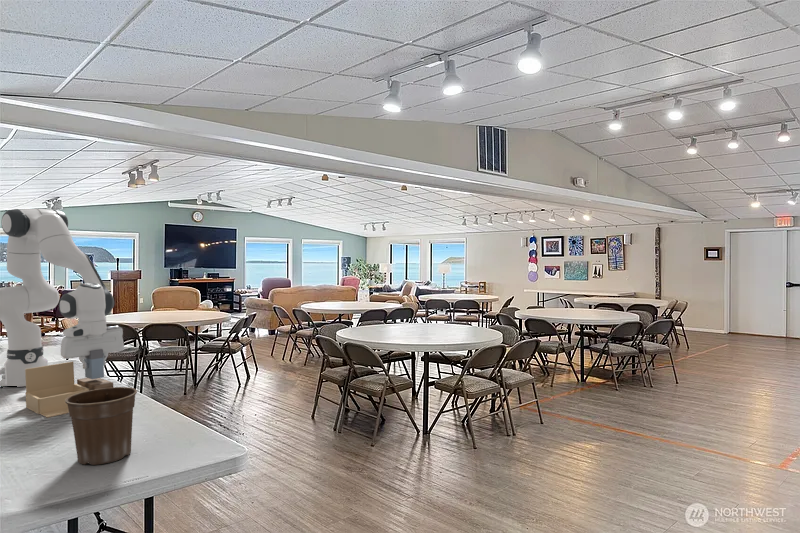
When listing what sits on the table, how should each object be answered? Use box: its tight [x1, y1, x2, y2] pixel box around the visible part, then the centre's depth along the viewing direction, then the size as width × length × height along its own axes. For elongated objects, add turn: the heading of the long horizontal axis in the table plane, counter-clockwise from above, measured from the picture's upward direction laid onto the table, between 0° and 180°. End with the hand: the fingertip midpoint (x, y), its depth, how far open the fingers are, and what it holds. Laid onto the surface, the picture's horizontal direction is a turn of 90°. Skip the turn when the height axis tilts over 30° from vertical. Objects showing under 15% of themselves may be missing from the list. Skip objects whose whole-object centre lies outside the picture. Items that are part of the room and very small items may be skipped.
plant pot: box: [65, 386, 138, 466], centre depth 143 cm, size 16×16×16 cm
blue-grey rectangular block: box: [84, 349, 105, 379], centre depth 199 cm, size 6×4×10 cm, turn 50°
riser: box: [76, 377, 114, 391], centre depth 200 cm, size 16×6×6 cm, turn 50°
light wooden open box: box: [25, 361, 89, 419], centre depth 188 cm, size 20×16×13 cm
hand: (94, 367), depth 199 cm, fingers closed on blue-grey rectangular block, 4 cm apart
